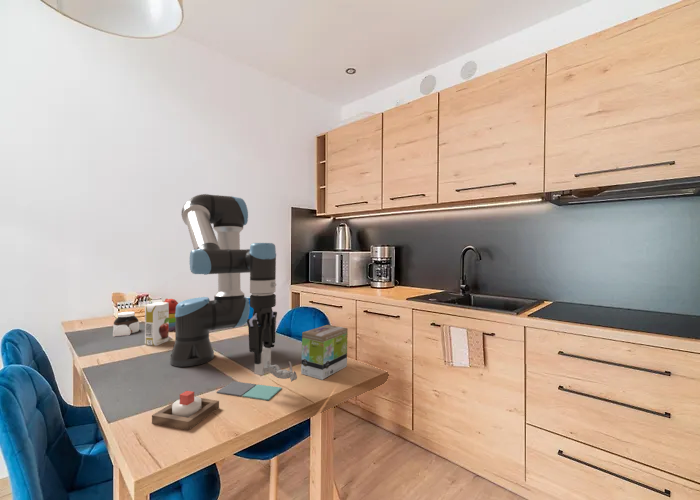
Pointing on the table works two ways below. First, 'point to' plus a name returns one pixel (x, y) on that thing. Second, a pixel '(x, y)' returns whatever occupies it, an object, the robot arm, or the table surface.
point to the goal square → (262, 392)
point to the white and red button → (186, 405)
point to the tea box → (324, 351)
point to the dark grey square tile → (236, 388)
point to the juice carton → (156, 323)
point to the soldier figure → (281, 372)
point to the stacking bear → (172, 313)
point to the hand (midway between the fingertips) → (262, 371)
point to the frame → (185, 423)
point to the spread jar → (125, 324)
